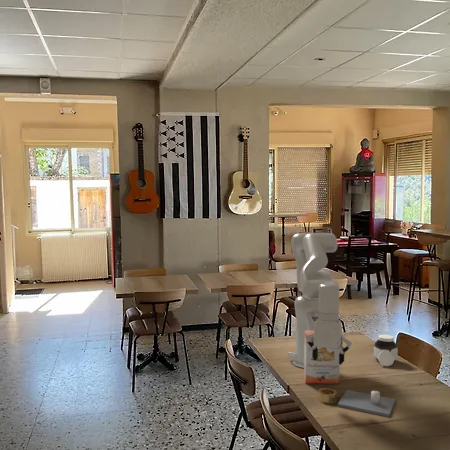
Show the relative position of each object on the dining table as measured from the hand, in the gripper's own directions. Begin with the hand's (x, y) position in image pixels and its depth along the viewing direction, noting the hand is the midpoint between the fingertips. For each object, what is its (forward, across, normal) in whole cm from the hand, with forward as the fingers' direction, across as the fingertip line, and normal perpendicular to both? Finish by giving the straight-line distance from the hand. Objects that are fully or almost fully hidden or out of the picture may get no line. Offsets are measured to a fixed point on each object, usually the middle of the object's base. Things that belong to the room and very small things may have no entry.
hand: (328, 361), depth 178 cm
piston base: (+15, +14, +4) cm, 21 cm away
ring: (+15, 0, 0) cm, 15 cm away
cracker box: (+15, -7, +16) cm, 23 cm away
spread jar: (+14, +13, +52) cm, 56 cm away
